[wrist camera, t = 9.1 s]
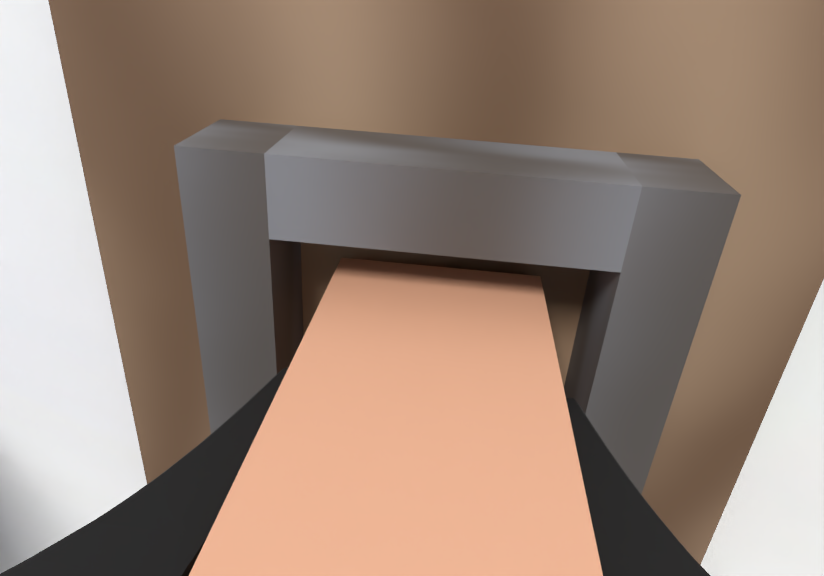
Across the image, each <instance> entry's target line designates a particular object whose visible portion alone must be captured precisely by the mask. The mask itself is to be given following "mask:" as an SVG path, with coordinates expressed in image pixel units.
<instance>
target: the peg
mask: <svg viewBox="0 0 824 576" xmlns="http://www.w3.org/2000/svg"><path fill="white" fill-rule="evenodd" d="M189 576H603V573H602V568H601V564H600V559H599V554H598V549H597V545H596V540H595V535H594V530H593V525H592V521H591V516H590V511H589V506H588V502H587V497H586V492H585V487H584V482H583V478H582V473H581V468H580V463H579V459H578V454H577V449H576V444H575V439H574V435H573V430H572V425H571V420H570V416H569V411H568V406H567V401H566V396H565V392H564V387H563V382H562V377H561V373H560V368H559V363H558V358H557V353H556V349H555V344H554V339H553V334H552V330H551V325H550V320H549V315H548V310H547V306H546V301H545V296H544V291H543V287H542V282H541V277H540V276H533V275H522V274H511V273H501V272H490V271H479V270H469V269H458V268H447V267H437V266H426V265H415V264H405V263H394V262H383V261H373V260H362V259H351V258H341V260H340V262H339V264H338V266H337V268H336V270H335V272H334V274H333V276H332V278H331V280H330V282H329V285H328V287H327V289H326V291H325V293H324V295H323V297H322V299H321V301H320V303H319V305H318V307H317V310H316V312H315V314H314V316H313V318H312V320H311V322H310V324H309V326H308V328H307V330H306V332H305V335H304V337H303V339H302V341H301V343H300V345H299V347H298V349H297V351H296V353H295V355H294V357H293V360H292V362H291V364H290V366H289V368H288V370H287V372H286V374H285V376H284V378H283V380H282V382H281V385H280V387H279V389H278V391H277V393H276V395H275V397H274V399H273V401H272V403H271V405H270V407H269V410H268V412H267V414H266V416H265V418H264V420H263V422H262V424H261V426H260V428H259V430H258V432H257V435H256V437H255V439H254V441H253V443H252V445H251V447H250V449H249V451H248V453H247V455H246V457H245V460H244V462H243V464H242V466H241V468H240V470H239V472H238V474H237V476H236V478H235V480H234V482H233V485H232V487H231V489H230V491H229V493H228V495H227V497H226V499H225V501H224V503H223V505H222V507H221V510H220V512H219V514H218V516H217V518H216V520H215V522H214V524H213V526H212V528H211V530H210V532H209V535H208V537H207V539H206V541H205V543H204V545H203V547H202V549H201V551H200V553H199V555H198V557H197V559H196V562H195V564H194V566H193V568H192V570H191V572H190V574H189Z"/></svg>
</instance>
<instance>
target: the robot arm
mask: <svg viewBox="0 0 824 576" xmlns="http://www.w3.org/2000/svg"><path fill="white" fill-rule="evenodd" d="M287 370H288V368H286V367H285V368H284V369H282V370H281V371H280V372H279V373H278V374H276V375H275V376H274V377H273V378H272V379H271V380H270V381H269V382H268V383H267V384H266V385H265V386H264V387H263V388H262V389H260V390H259V391H258V392H257V393H256V394H255V395H254V396H253V397H252V398H251V399H250V400H249V401H248V402H247V403H245V404H244V405H243V406H242V407H241V408H240V409H239V410H238V411H237V412H236V413H235V414H233V415H232V416H231V417H230V418H229V419H228V420H227V421H225V422H224V423H223V424H222V425H221V426H220V427H219V428H217V429H216V430H215V431H214V432H213V433H212V434H210V435H209V436H208V437H207V438H206V439H205V440H204V441H202V442H201V443H200V444H199V445H198V446H196V447H195V448H194V449H192V450H191V451H190V452H189V453H187V454H186V455H185V456H184V457H182V458H181V459H180V460H179V461H177V462H176V463H175V464H173V465H172V466H171V467H170V468H168V469H167V470H166V471H165V472H163V473H162V474H161V475H159V476H158V477H157V478H155V479H154V480H153V481H151V482H150V483H149V484H147V485H146V486H144V487H143V488H142V489H140V490H139V491H137V492H136V493H135V494H133V495H132V496H130V497H129V498H127V499H126V500H124V501H123V502H122V503H120V504H119V505H117V506H116V507H114V508H113V509H111V510H110V511H108V512H107V513H105V514H104V515H102V516H100V517H99V518H97V519H96V520H94V521H92V522H91V523H89V524H87V525H86V526H84V527H82V528H81V529H79V530H77V531H75V532H74V533H72V534H70V535H69V536H67V537H65V538H63V539H62V540H60V541H58V542H57V543H55V544H53V545H51V546H50V547H48V548H46V549H45V550H43V551H41V552H39V553H38V554H36V555H34V556H33V557H31V558H29V559H27V560H26V561H24V562H22V563H20V564H18V565H16V566H14V567H12V568H11V569H9V570H7V571H5V572H3V573H1V574H0V576H189V574H190V572H191V570H192V568H193V566H194V564H195V562H196V559H197V557H198V555H199V553H200V551H201V549H202V547H203V545H204V543H205V541H206V539H207V537H208V535H209V532H210V530H211V528H212V526H213V524H214V522H215V520H216V518H217V516H218V514H219V512H220V510H221V507H222V505H223V503H224V501H225V499H226V497H227V495H228V493H229V491H230V489H231V487H232V485H233V482H234V480H235V478H236V476H237V474H238V472H239V470H240V468H241V466H242V464H243V462H244V460H245V457H246V455H247V453H248V451H249V449H250V447H251V445H252V443H253V441H254V439H255V437H256V435H257V432H258V430H259V428H260V426H261V424H262V422H263V420H264V418H265V416H266V414H267V412H268V410H269V407H270V405H271V403H272V401H273V399H274V397H275V395H276V393H277V391H278V389H279V387H280V385H281V382H282V380H283V378H284V376H285V374H286V372H287ZM566 401H567V406H568V411H569V416H570V420H571V425H572V430H573V435H574V439H575V444H576V449H577V454H578V459H579V463H580V468H581V473H582V478H583V482H584V487H585V492H586V497H587V502H588V506H589V511H590V516H591V521H592V525H593V530H594V535H595V540H596V545H597V549H598V554H599V559H600V564H601V568H602V573H603V576H710V575H709V574H708V573H707V572H706V571H705V570H704V569H703V568H702V567H701V565H700V564H699V563H698V562H697V561H696V560H695V559H694V558H693V557H692V556H691V555H690V553H689V552H688V551H687V550H686V549H685V548H684V546H683V545H682V544H681V543H680V542H679V541H678V539H677V538H676V537H675V536H674V535H673V533H672V532H671V531H670V530H669V529H668V527H667V526H666V525H665V524H664V523H663V521H662V520H661V519H660V518H659V517H658V515H657V514H656V513H655V511H654V510H653V509H652V508H651V506H650V505H649V504H648V503H647V501H646V500H645V499H644V497H643V496H642V495H641V493H640V492H639V491H638V489H637V488H636V487H635V485H634V484H633V483H632V481H631V480H630V479H629V477H628V476H627V475H626V473H625V472H624V470H623V469H622V468H621V466H620V465H619V464H618V462H617V461H616V459H615V458H614V456H613V455H612V454H611V452H610V451H609V449H608V448H607V446H606V445H605V443H604V442H603V440H602V439H601V437H600V436H599V434H598V433H597V431H596V430H595V428H594V427H593V425H592V424H591V422H590V421H589V419H588V418H587V416H586V415H585V413H584V411H583V410H582V408H581V407H580V405H579V404H578V403H577V401H576V400H575V399H574V398H566Z"/></svg>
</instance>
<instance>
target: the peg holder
mask: <svg viewBox="0 0 824 576" xmlns="http://www.w3.org/2000/svg"><path fill="white" fill-rule="evenodd" d="M49 5H50V10H51V15H52V20H53V25H54V30H55V35H56V40H57V44H58V49H59V54H60V59H61V64H62V69H63V74H64V79H65V84H66V88H67V93H68V98H69V103H70V108H71V113H72V118H73V123H74V128H75V132H76V137H77V142H78V147H79V152H80V157H81V162H82V167H83V172H84V177H85V181H86V186H87V191H88V196H89V201H90V206H91V211H92V216H93V221H94V225H95V230H96V235H97V240H98V245H99V250H100V255H101V260H102V265H103V269H104V274H105V279H106V284H107V289H108V294H109V299H110V304H111V309H112V314H113V318H114V323H115V328H116V333H117V338H118V343H119V348H120V353H121V358H122V362H123V367H124V372H125V377H126V382H127V387H128V392H129V397H130V402H131V407H132V411H133V416H134V421H135V426H136V431H137V436H138V441H139V446H140V451H141V455H142V460H143V465H144V470H145V475H146V480H147V484H149V483H150V482H151V481H153V480H154V479H155V478H157V477H158V476H159V475H161V474H162V473H163V472H165V471H166V470H167V469H168V468H170V467H171V466H172V465H173V464H175V463H176V462H177V461H179V460H180V459H181V458H182V457H184V456H185V455H186V454H187V453H189V452H190V451H191V450H192V449H194V448H195V447H196V446H198V445H199V444H200V443H201V442H202V441H204V440H205V439H206V438H207V437H208V436H209V435H210V434H212V433H213V432H214V431H215V430H216V429H217V428H219V427H220V426H221V425H222V424H223V423H224V422H225V421H227V420H228V419H229V418H230V417H231V416H232V415H233V414H235V413H236V412H237V411H238V410H239V409H240V408H241V407H242V406H243V405H244V404H245V403H247V402H248V401H249V400H250V399H251V398H252V397H253V396H254V395H255V394H256V393H257V392H258V391H259V390H260V389H262V388H263V387H264V386H265V385H266V384H267V383H268V382H269V381H270V380H271V379H272V378H273V377H274V376H275V375H276V374H278V373H279V372H280V371H281V370H282V369H284V368H285V367H286V368H289V366H290V364H291V362H292V360H293V357H294V355H295V353H296V351H297V349H298V347H299V345H300V343H301V341H302V339H303V337H304V335H305V332H306V330H307V328H308V326H309V324H310V322H311V320H312V318H313V316H314V314H315V312H316V310H317V307H318V305H319V303H320V301H321V299H322V297H323V295H324V293H325V291H326V289H327V287H328V285H329V282H330V280H331V278H332V276H333V274H334V272H335V270H336V268H337V266H338V264H339V262H340V260H341V258H351V259H362V260H373V261H383V262H394V263H405V264H415V265H426V266H437V267H447V268H458V269H469V270H479V271H490V272H501V273H511V274H522V275H533V276H540V277H541V282H542V287H543V291H544V296H545V301H546V306H547V310H548V315H549V320H550V325H551V330H552V334H553V339H554V344H555V349H556V353H557V358H558V363H559V368H560V373H561V377H562V382H563V387H564V392H565V396H566V398H574V399H575V400H576V401H577V403H578V404H579V405H580V407H581V408H582V410H583V411H584V413H585V415H586V416H587V418H588V419H589V421H590V422H591V424H592V425H593V427H594V428H595V430H596V431H597V433H598V434H599V436H600V437H601V439H602V440H603V442H604V443H605V445H606V446H607V448H608V449H609V451H610V452H611V454H612V455H613V456H614V458H615V459H616V461H617V462H618V464H619V465H620V466H621V468H622V469H623V470H624V472H625V473H626V475H627V476H628V477H629V479H630V480H631V481H632V483H633V484H634V485H635V487H636V488H637V489H638V491H639V492H640V493H641V495H642V496H643V497H644V499H645V500H646V501H647V503H648V504H649V505H650V506H651V508H652V509H653V510H654V511H655V513H656V514H657V515H658V517H659V518H660V519H661V520H662V521H663V523H664V524H665V525H666V526H667V527H668V529H669V530H670V531H671V532H672V533H673V535H674V536H675V537H676V538H677V539H678V541H679V542H680V543H681V544H682V545H683V546H684V548H685V549H686V550H687V551H688V552H689V553H690V555H691V556H692V557H693V558H694V559H695V560H696V561H697V562H698V563H699V564H701V562H702V560H703V557H704V555H705V553H706V550H707V548H708V546H709V543H710V541H711V539H712V536H713V534H714V532H715V529H716V527H717V525H718V522H719V520H720V518H721V515H722V513H723V511H724V508H725V506H726V504H727V502H728V499H729V497H730V495H731V492H732V490H733V488H734V485H735V483H736V481H737V478H738V476H739V474H740V471H741V469H742V467H743V464H744V462H745V460H746V457H747V455H748V453H749V450H750V448H751V446H752V444H753V441H754V439H755V437H756V434H757V432H758V430H759V427H760V425H761V423H762V420H763V418H764V416H765V413H766V411H767V409H768V406H769V404H770V402H771V399H772V397H773V395H774V392H775V390H776V388H777V386H778V383H779V381H780V379H781V376H782V374H783V372H784V369H785V367H786V365H787V362H788V360H789V358H790V355H791V353H792V351H793V348H794V346H795V344H796V341H797V339H798V337H799V334H800V332H801V330H802V328H803V325H804V323H805V321H806V318H807V316H808V314H809V311H810V309H811V307H812V304H813V302H814V300H815V297H816V295H817V293H818V290H819V288H820V286H821V283H822V281H823V279H824V0H49Z"/></svg>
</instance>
